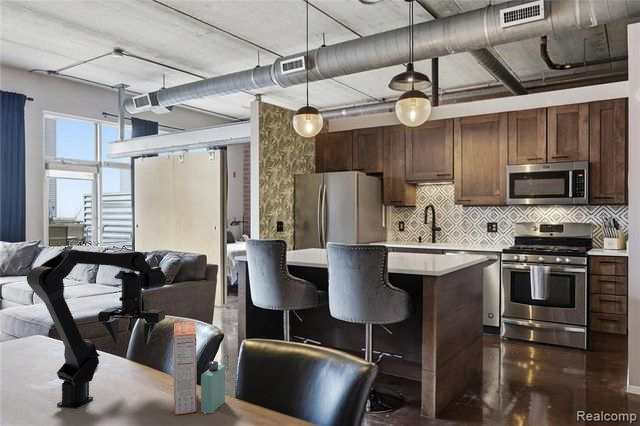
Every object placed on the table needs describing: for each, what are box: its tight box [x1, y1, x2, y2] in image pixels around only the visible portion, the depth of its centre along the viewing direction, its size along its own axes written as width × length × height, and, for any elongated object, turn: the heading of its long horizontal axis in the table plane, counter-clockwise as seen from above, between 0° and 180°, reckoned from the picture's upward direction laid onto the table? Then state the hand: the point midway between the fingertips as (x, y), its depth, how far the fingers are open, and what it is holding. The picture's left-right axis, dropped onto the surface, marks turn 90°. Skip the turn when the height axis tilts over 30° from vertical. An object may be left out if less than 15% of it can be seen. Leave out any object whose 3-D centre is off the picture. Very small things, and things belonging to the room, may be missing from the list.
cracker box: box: [172, 321, 198, 416], centre depth 128 cm, size 14×6×21 cm, turn 16°
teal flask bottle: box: [200, 360, 226, 414], centre depth 126 cm, size 8×3×12 cm, turn 166°
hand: (131, 343), depth 142 cm, fingers open, 9 cm apart
